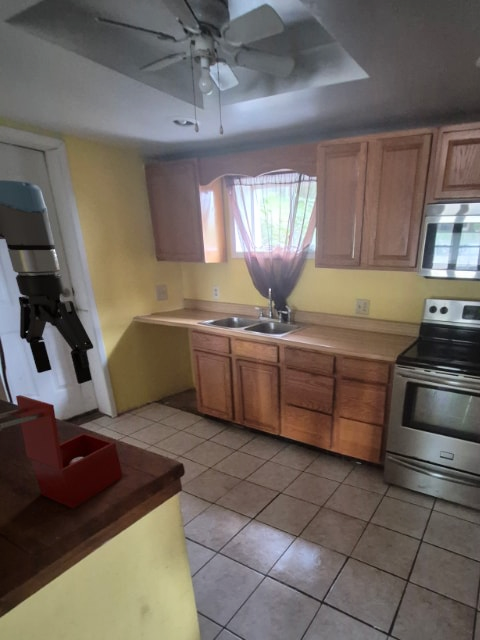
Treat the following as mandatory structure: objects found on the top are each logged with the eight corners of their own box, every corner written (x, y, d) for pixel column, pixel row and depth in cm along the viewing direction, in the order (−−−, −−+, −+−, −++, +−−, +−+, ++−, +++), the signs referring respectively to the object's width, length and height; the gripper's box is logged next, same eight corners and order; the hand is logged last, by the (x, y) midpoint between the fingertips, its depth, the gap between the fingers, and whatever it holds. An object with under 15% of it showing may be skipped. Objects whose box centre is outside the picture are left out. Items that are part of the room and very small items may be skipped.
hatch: (20, 395, 73) (-41, 408, 64) (53, 404, 69) (-7, 420, 60) (31, 455, 77) (-25, 475, 68) (63, 468, 73) (7, 491, 64)
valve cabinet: (93, 467, 91) (84, 432, 87) (123, 478, 87) (115, 442, 83) (42, 496, 81) (29, 458, 77) (73, 510, 77) (61, 470, 73)
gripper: (99, 275, 70) (119, 380, 78) (20, 268, 80) (45, 362, 88) (60, 279, 64) (86, 392, 72) (-20, 271, 74) (11, 371, 82)
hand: (64, 376), depth 80 cm, fingers open, 13 cm apart
